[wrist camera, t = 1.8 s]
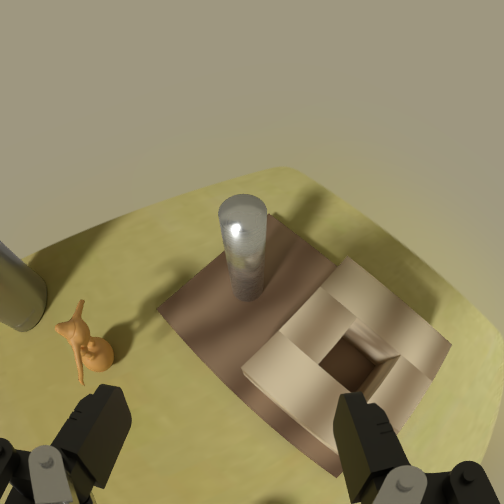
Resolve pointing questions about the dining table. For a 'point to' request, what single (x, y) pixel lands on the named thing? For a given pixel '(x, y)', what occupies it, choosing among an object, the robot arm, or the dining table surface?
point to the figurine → (86, 344)
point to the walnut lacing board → (262, 328)
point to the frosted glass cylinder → (244, 243)
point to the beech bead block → (361, 338)
